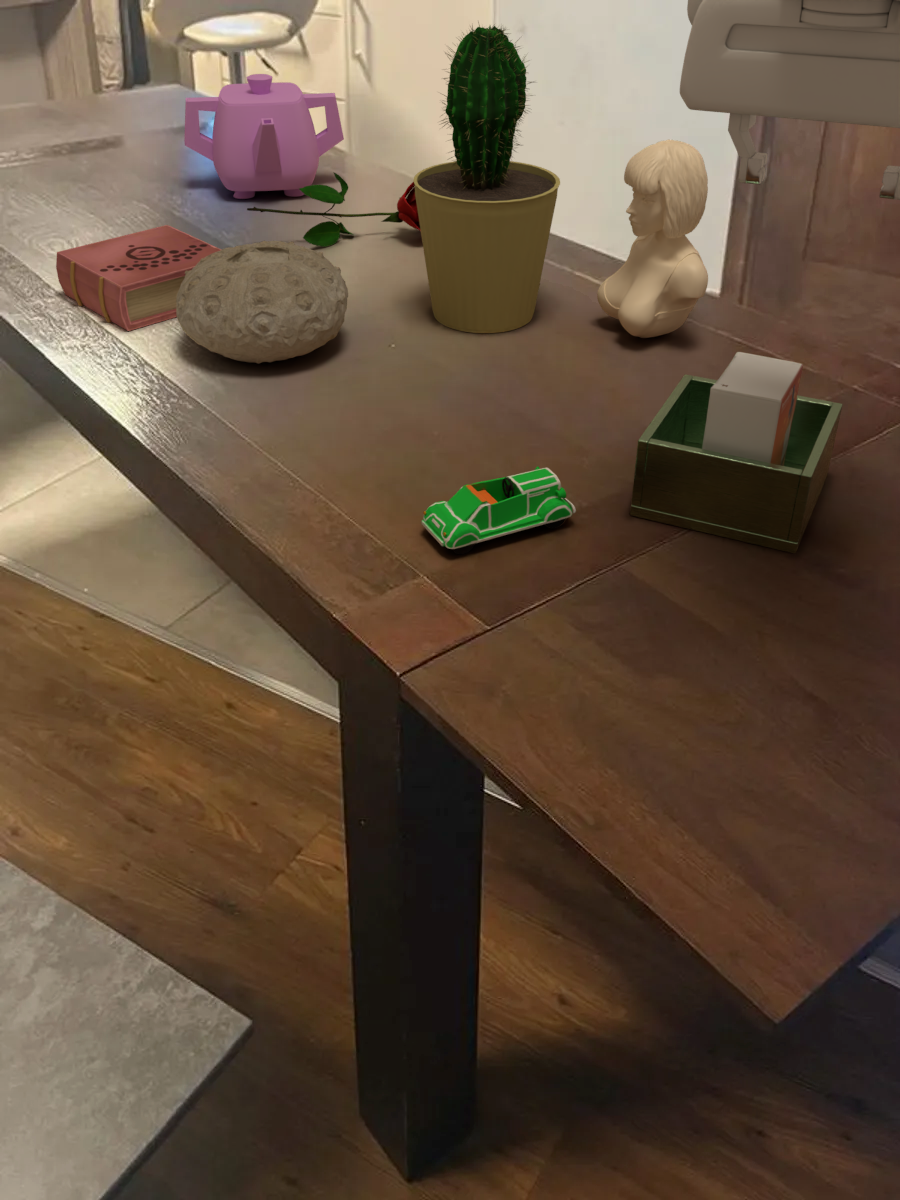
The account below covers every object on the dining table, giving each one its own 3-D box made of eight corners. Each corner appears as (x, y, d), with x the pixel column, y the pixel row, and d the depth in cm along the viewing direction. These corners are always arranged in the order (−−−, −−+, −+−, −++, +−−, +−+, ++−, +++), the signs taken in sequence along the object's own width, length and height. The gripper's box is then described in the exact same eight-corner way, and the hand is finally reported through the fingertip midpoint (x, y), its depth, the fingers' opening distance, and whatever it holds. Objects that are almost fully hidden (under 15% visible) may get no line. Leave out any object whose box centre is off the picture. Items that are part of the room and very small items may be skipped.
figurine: (582, 314, 133) (596, 127, 121) (657, 304, 135) (677, 121, 123) (635, 362, 122) (656, 163, 111) (715, 350, 125) (743, 155, 113)
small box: (760, 520, 95) (782, 401, 89) (692, 504, 97) (709, 387, 91) (783, 476, 101) (805, 361, 95) (719, 462, 103) (737, 349, 97)
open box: (827, 476, 103) (843, 403, 99) (795, 554, 93) (811, 476, 89) (675, 444, 108) (684, 373, 104) (629, 515, 98) (637, 440, 93)
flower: (249, 160, 141) (489, 165, 149) (241, 178, 150) (468, 182, 158) (254, 239, 142) (491, 239, 150) (246, 252, 151) (470, 251, 159)
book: (58, 296, 136) (49, 253, 133) (172, 265, 145) (167, 224, 142) (121, 333, 128) (113, 288, 125) (239, 298, 136) (234, 255, 133)
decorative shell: (146, 358, 122) (131, 263, 117) (246, 301, 135) (237, 213, 129) (291, 393, 116) (283, 295, 110) (381, 329, 129) (378, 238, 123)
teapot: (275, 215, 160) (266, 97, 152) (176, 193, 168) (161, 79, 160) (359, 181, 174) (355, 71, 165) (263, 162, 182) (254, 56, 173)
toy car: (545, 496, 100) (548, 451, 97) (578, 525, 96) (581, 478, 94) (418, 530, 96) (417, 484, 93) (447, 562, 92) (447, 514, 89)
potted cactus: (513, 352, 124) (525, 41, 107) (388, 323, 130) (380, 24, 113) (575, 304, 135) (595, 15, 117) (457, 279, 141) (460, 1, 124)
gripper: (678, -42, 74) (658, 184, 82) (1030, -27, 67) (972, 219, 75) (705, -52, 79) (684, 162, 87) (1037, -40, 71) (981, 193, 79)
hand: (820, 189), depth 81 cm, fingers open, 8 cm apart
